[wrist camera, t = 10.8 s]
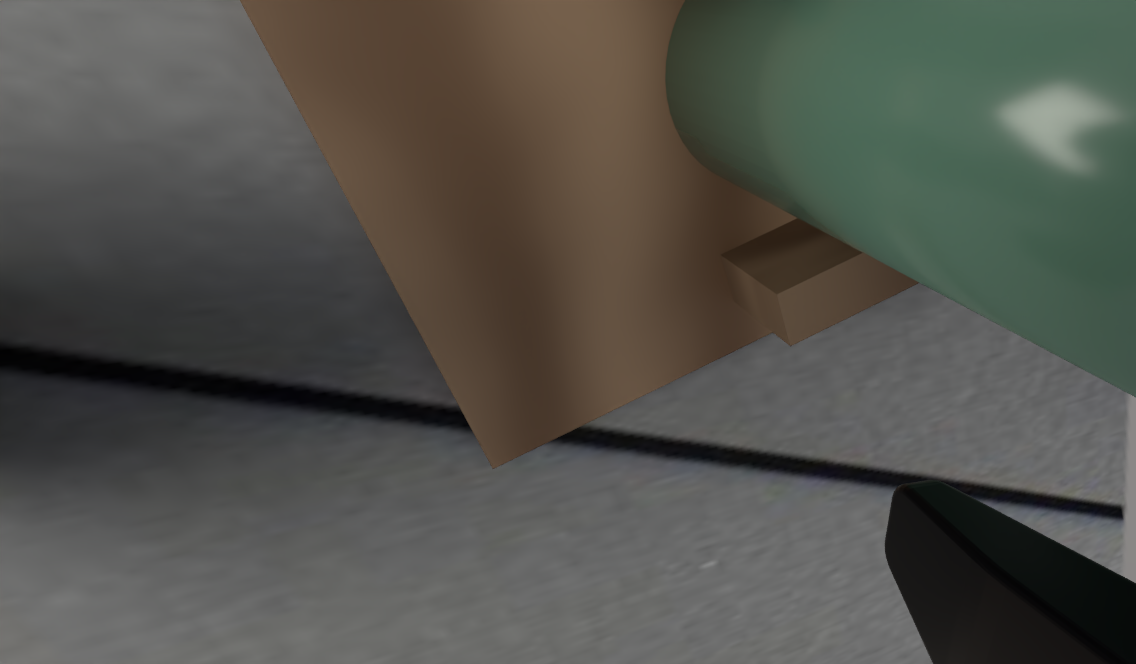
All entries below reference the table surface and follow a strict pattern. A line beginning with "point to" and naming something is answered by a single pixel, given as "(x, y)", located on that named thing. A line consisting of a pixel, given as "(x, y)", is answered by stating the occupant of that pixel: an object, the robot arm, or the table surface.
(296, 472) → the table surface
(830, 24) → the oil bottle
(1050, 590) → the robot arm
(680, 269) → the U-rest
